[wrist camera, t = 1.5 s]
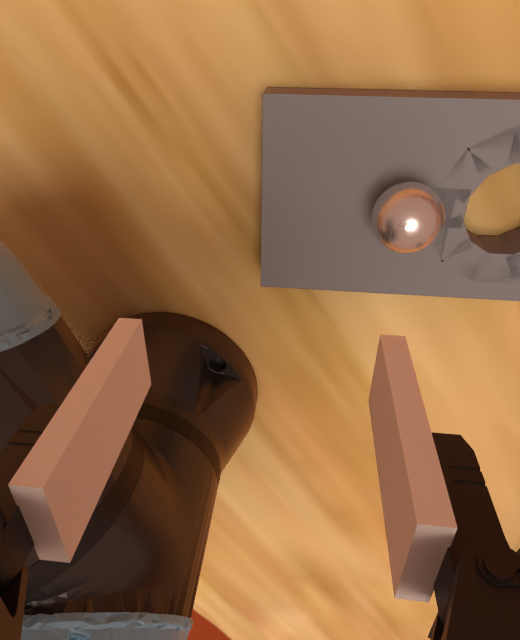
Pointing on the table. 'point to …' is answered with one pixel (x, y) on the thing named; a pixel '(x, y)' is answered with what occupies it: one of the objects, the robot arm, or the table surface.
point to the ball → (408, 217)
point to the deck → (383, 188)
